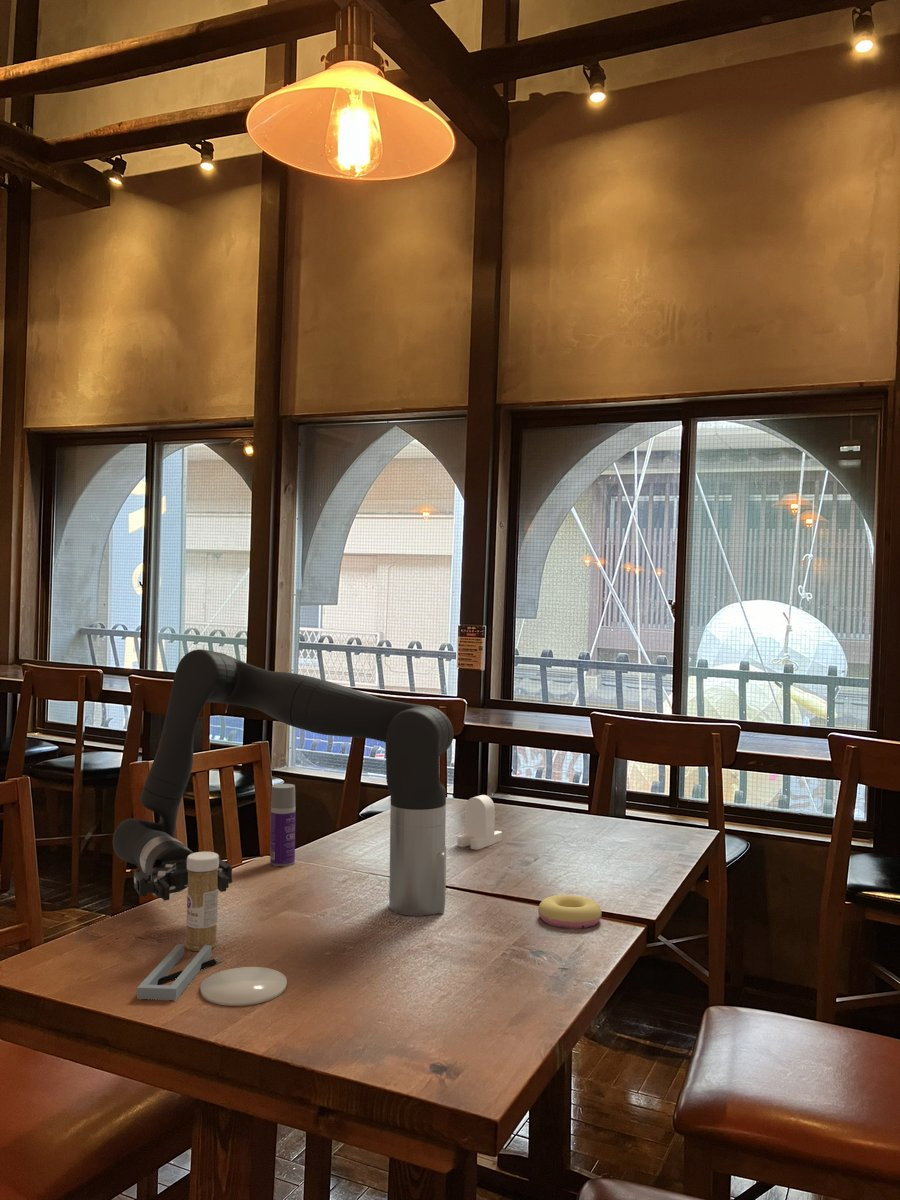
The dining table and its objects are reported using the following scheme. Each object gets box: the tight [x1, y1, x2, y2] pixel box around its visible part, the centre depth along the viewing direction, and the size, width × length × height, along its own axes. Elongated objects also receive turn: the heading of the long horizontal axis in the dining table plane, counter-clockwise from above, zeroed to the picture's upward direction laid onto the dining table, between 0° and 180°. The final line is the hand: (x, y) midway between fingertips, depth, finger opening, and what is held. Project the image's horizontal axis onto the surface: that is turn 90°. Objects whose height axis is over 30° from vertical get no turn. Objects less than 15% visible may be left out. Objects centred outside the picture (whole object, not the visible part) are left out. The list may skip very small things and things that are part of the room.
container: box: [269, 783, 296, 867], centre depth 180 cm, size 5×5×15 cm
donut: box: [537, 894, 602, 930], centre depth 150 cm, size 10×5×9 cm
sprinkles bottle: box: [185, 851, 220, 952], centre depth 137 cm, size 5×5×13 cm
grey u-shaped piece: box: [136, 943, 213, 1001], centre depth 125 cm, size 5×15×2 cm, turn 177°
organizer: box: [457, 794, 503, 850], centre depth 198 cm, size 5×10×10 cm, turn 144°
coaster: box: [200, 966, 288, 1007], centre depth 122 cm, size 11×11×1 cm
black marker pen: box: [157, 957, 222, 985], centre depth 126 cm, size 12×1×1 cm, turn 142°
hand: (196, 889), depth 139 cm, fingers open, 8 cm apart
